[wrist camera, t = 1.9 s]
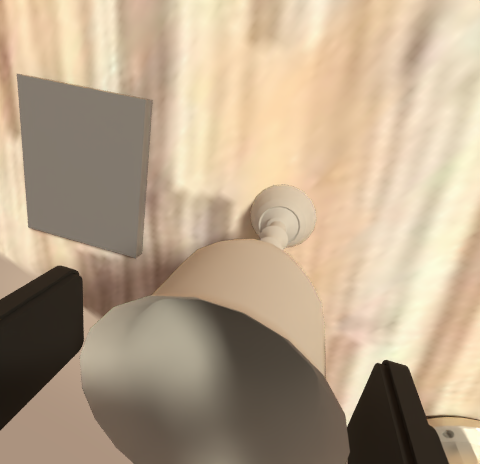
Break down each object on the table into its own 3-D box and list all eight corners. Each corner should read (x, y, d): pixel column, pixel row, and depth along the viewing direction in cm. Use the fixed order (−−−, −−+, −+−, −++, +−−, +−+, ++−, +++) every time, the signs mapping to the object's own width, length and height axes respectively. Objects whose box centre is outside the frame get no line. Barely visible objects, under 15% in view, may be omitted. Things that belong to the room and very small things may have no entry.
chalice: (350, 214, 23) (421, 444, 7) (291, 275, 26) (239, 546, 10) (272, 151, 23) (152, 232, 7) (221, 219, 26) (45, 396, 9)
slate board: (152, 100, 24) (145, 99, 23) (141, 253, 29) (135, 258, 28) (27, 75, 26) (16, 73, 25) (37, 224, 31) (28, 227, 30)
